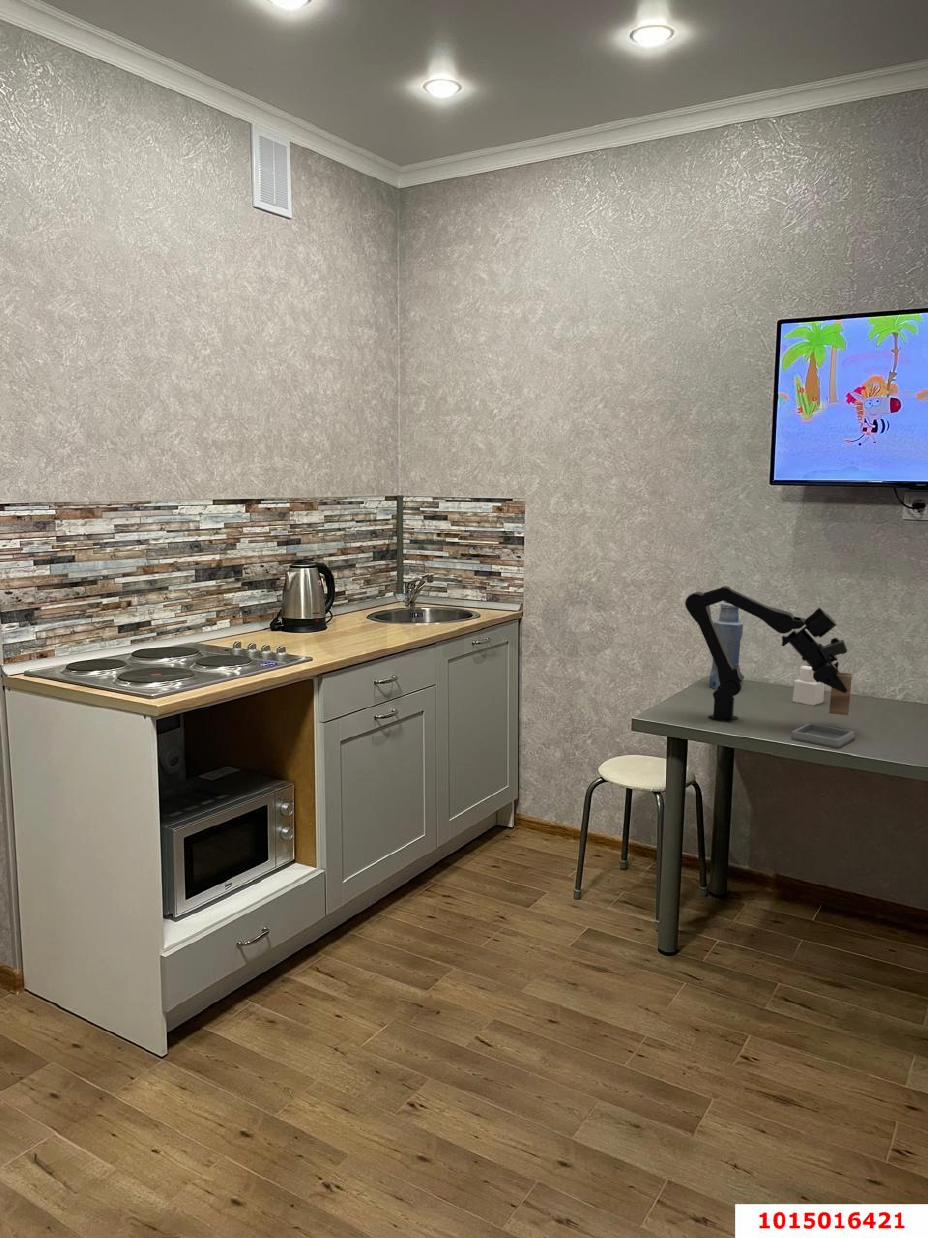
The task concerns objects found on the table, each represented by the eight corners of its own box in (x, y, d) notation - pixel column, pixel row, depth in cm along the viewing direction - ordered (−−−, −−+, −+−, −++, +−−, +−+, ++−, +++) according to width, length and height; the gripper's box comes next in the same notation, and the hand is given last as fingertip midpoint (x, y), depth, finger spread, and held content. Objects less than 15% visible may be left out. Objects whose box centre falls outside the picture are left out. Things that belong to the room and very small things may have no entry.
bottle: (707, 683, 323) (712, 598, 318) (735, 685, 322) (741, 599, 318) (711, 690, 314) (717, 602, 309) (741, 691, 313) (747, 603, 308)
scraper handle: (848, 715, 259) (851, 677, 258) (829, 713, 261) (832, 675, 260) (848, 711, 264) (851, 673, 262) (829, 709, 266) (833, 671, 264)
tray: (837, 748, 247) (838, 740, 246) (791, 739, 255) (791, 731, 254) (854, 739, 256) (854, 731, 256) (808, 730, 264) (809, 723, 264)
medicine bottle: (802, 698, 304) (805, 662, 302) (823, 702, 299) (826, 666, 297) (792, 701, 299) (794, 665, 297) (813, 706, 294) (816, 669, 292)
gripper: (829, 634, 252) (870, 678, 250) (831, 625, 269) (869, 666, 267) (796, 660, 256) (836, 703, 254) (801, 649, 273) (838, 690, 271)
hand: (846, 690), depth 261 cm, fingers closed on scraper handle, 5 cm apart
